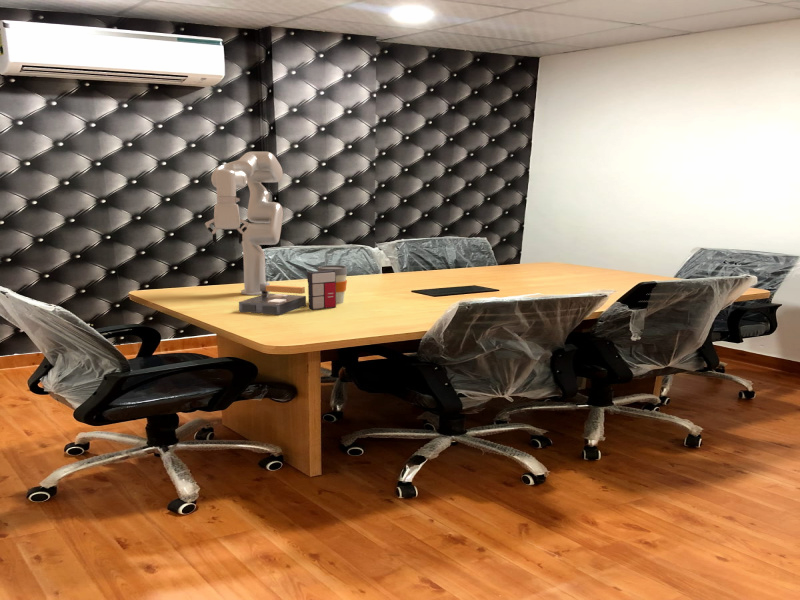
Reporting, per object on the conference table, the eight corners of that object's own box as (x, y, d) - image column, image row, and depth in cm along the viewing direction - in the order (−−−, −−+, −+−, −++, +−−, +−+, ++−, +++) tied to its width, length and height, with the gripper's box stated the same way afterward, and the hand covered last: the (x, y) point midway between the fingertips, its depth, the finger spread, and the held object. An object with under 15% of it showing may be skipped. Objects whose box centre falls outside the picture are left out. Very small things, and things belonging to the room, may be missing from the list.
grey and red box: (312, 310, 293) (311, 273, 290) (307, 308, 296) (307, 271, 294) (337, 307, 298) (336, 271, 296) (332, 306, 302) (331, 270, 299)
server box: (267, 302, 309) (266, 289, 308) (306, 305, 303) (305, 292, 302) (238, 312, 289) (237, 298, 288) (279, 315, 283) (278, 301, 282)
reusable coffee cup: (318, 299, 317) (317, 265, 314) (347, 299, 318) (346, 265, 315) (317, 305, 304) (317, 269, 302) (348, 304, 305) (347, 268, 303)
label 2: (275, 299, 294) (275, 298, 294) (286, 300, 292) (286, 299, 292) (267, 301, 288) (267, 301, 288) (278, 302, 287) (278, 302, 287)
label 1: (276, 294, 305) (276, 294, 305) (287, 295, 303) (287, 294, 303) (269, 297, 299) (269, 296, 299) (280, 297, 298) (280, 297, 298)
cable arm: (258, 291, 303) (258, 284, 303) (262, 289, 306) (262, 283, 306) (301, 293, 296) (301, 287, 296) (305, 292, 300) (305, 285, 299)
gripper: (247, 200, 301) (248, 242, 303) (204, 200, 296) (205, 243, 299) (249, 201, 294) (250, 244, 296) (204, 201, 289) (205, 244, 292)
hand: (227, 243), depth 297 cm, fingers open, 9 cm apart
